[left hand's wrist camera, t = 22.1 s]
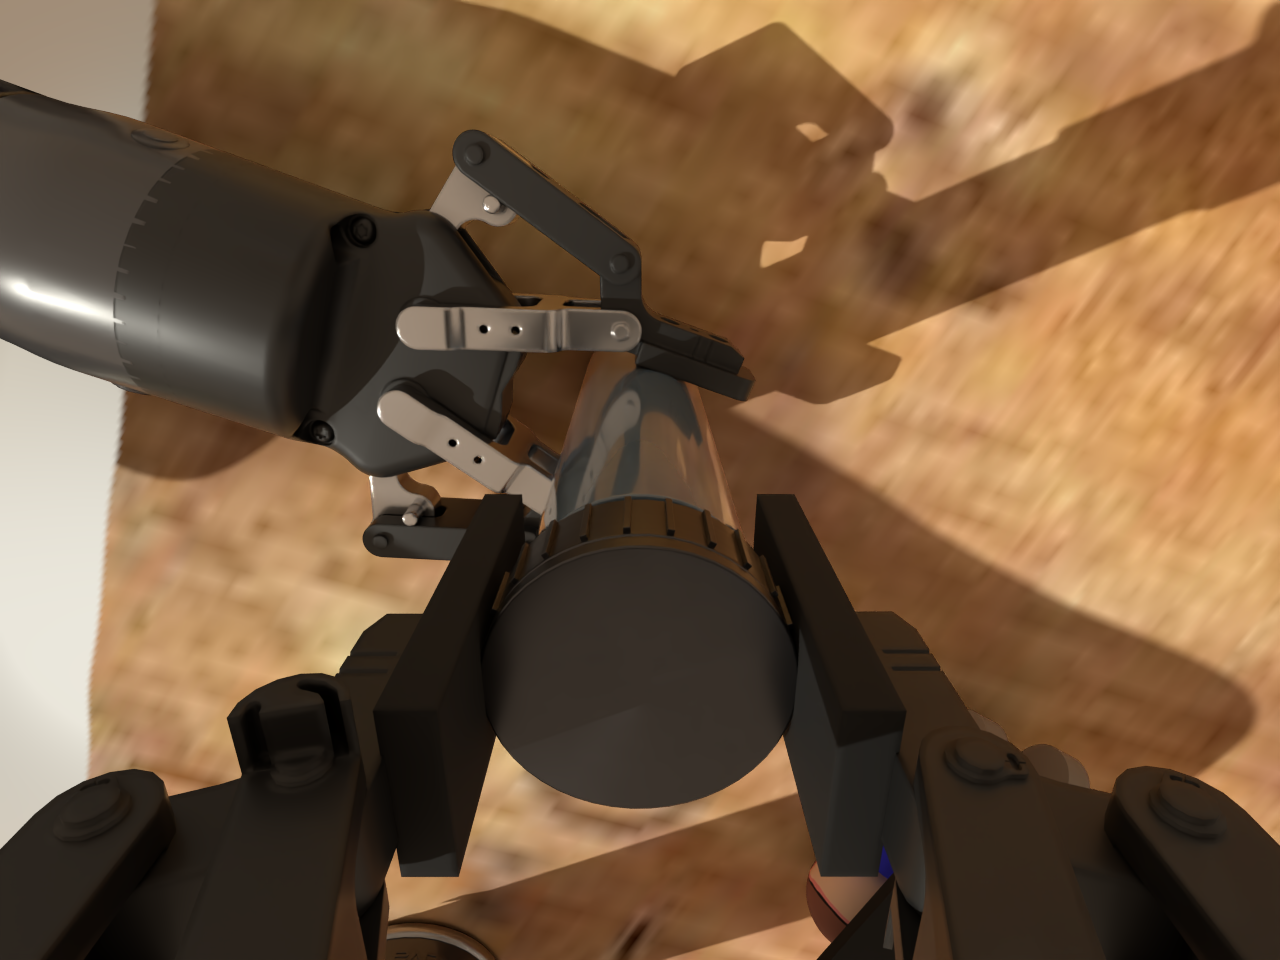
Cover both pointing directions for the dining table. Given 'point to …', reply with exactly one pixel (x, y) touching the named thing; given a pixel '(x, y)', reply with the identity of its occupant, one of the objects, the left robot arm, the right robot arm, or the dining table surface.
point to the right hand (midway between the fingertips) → (716, 455)
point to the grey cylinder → (637, 444)
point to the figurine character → (862, 903)
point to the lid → (639, 656)
